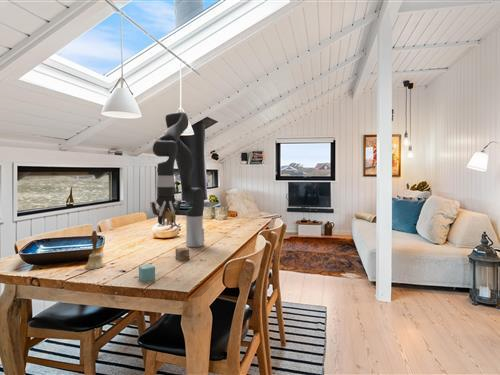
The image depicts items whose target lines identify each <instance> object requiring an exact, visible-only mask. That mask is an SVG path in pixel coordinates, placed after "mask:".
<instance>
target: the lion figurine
mask: <svg viewBox="0 0 500 375" xmlns="http://www.w3.org/2000/svg"><path fill="white" fill-rule="evenodd" d="M158 209H159V207H158V208H156V210H157V213H158ZM161 216H162V225H161V226H162V227H163V226H165V225H170V227H169V229H170V228H171V229H172V228H174V227H177V228H179V227H180V226H179V225H178V224H177V223H176V219H177V218H176V216H177V215H176V214H175V213H174V212H170V211H169V209H168V208H166V209H164V210H163V212H162V215H161ZM172 218H173V221H174V222H173V223H172ZM165 220H166V222H165Z"/></svg>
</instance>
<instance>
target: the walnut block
mask: <svg viewBox="0 0 500 375" xmlns="http://www.w3.org/2000/svg"><path fill="white" fill-rule="evenodd" d="M175 260H177V261H178V262H184V261H188V260H190V249H189V248H187V247H178V248H175Z"/></svg>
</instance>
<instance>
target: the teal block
mask: <svg viewBox="0 0 500 375" xmlns="http://www.w3.org/2000/svg"><path fill="white" fill-rule="evenodd" d="M138 278H139V280H140V281H141V282H149V281H154V280H156V266H154V265H153V264H152V263H149V264H142V265H139V266H138Z"/></svg>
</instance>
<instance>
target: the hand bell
mask: <svg viewBox="0 0 500 375" xmlns="http://www.w3.org/2000/svg"><path fill="white" fill-rule="evenodd" d="M90 238H91V244H92V252H91V254H89V255H88V261H87V263H86V264H85V266H84V269H87V270H95V269H101V268H104V267H105V266H106V263H105V262H103V259H102V256H101V253H98V249H97V247H98V246H97V245H98V240H99V236H98V233H97V231H96V230H92V234H91V237H90Z"/></svg>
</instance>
